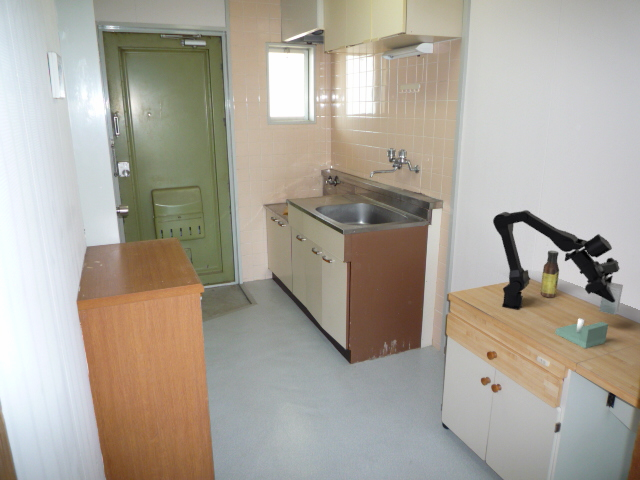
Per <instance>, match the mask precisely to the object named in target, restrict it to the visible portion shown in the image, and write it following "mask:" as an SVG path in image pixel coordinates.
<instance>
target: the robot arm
mask: <svg viewBox="0 0 640 480" xmlns="http://www.w3.org/2000/svg"><path fill="white" fill-rule="evenodd" d="M492 219H493V220H492V222H493V225H494V228H495V230H496V232H498V234H499V235H500V238H501V240H502V244H503V249H504V252H505V257H506V261H507V265H508V268H509V273H508V274H509V275H508V278H509V279H508V281H509V283H508V284H507V285H505V286H504V287H503V288H502V290H503V303H502V304H501V306H502V308H508V309H513V310H520V308H522V304H523V300H524V299H523V297H524V295H523V294H522V292H523V291H524V290H525V289H526V288H527V287H528V286H529V284H530V280H531V277H530V275H529V270H528V269H526V270H525V269H524V268H523V267H522V264H521V261H520V256H519V251H518V249H517V245H516V241H515V236H514V224H517V223H522V222H523V223H524V224H526V225H527V226H529V227H531V228H532V229H534V230H535V231H537V232H538V233H540V234H542V235H543V236H544V237H547V238H548V239H549V240H550V241H552V243H553V244H554V246H556V247H557V248H558V249H559V250H560V251H562V252H564V253H565V257H564V262H567V261H569V260H571V261H572V262H573V264H574V265H575V266H576V267H577V268H578V270H579V273H580V275H582V274H583V276H584V277H585V278H586V279H587V280H586V282H587V284H586V285H585V286H584V287H585V288H584V290H585V291H586V293H587V294H588V295H590V294H593V295H596V296H599V297H600V298H602V297H603V298H604V299H606V300H608V301H610V302H612V303H613V302H615V300H614V298H613V296H612V294H611V293H610V291H609V290H608V282H613V277H614V276H613V274H614V273H618V272H619V270H620V269H621V268H620V266H619V261H618V260H617V259H616V260H615V259H614V258H613V257H608V258H607V259H606V262H605V261H604V262H601V263H600V261H597V260H594V259H593V258H596V259H597V258H600V257H601V256H603V255H605V254H606V253H608V252H610V251H612V249H613V247H612V245H611V243H610V241H608V240H607V239H606V238H604V237H603V236H601V235H600V234H599V233H598V234H596V235H594V237H592V238H590V239H589V240H586V239H582V238H579V237H578V236H576V235H575V234H574V233H573V234H572V233H570V232H568V231H566V230H561V229H559V228H556V227H555V226H553V225H551V224H550V223H548V222H547V221H545V220H543V219H542V218H541V217H538V216H536V215H535V214H533V213H532V212H531V211H530V210H527V209H525V210H522V211H514V212H508V211H503V212H502V213H499V214H497V215H495V216H494V218H492ZM610 275H611V276H610ZM606 282H607V283H606Z"/></svg>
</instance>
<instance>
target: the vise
mask: <svg viewBox="0 0 640 480" xmlns="http://www.w3.org/2000/svg"><path fill="white" fill-rule="evenodd" d="M608 329H609V323H605V322H604V321H599V322H596V323H591V324H588V325H585V318H581V317H580V318H578V319H577V322H576V323H574V324H573V323H572V324H569V325H565V326H560V327H558V328H555V331H554V334H555V335H557V336H559V337H561V338H564V339H566V340H567V341H569V342H571V343H573V344H575V345H577V346H579V347H581V348H583V349H589V348H593V347H596V346H599V345H601V344H605V343H606V340H607V334H608Z"/></svg>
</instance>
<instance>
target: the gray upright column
mask: <svg viewBox="0 0 640 480" xmlns="http://www.w3.org/2000/svg"><path fill="white" fill-rule="evenodd" d="M606 283H607V282H606ZM623 286H624V284H622V283H621V284H620V283H615V282H613V281H611V282H608V290H609V291H610V293H611V294H612V296H613V298H614V300H615V302H613V303H612V302H610V301H608V300H606V299H604V298H603V297H600V299H601V300H600V304H599V310H598V311H599V312H602V313H606V314H610V315H614V316H616V315H617V313H618V311H619V307H620V303H621V297H622V292H623V288H624V287H623Z"/></svg>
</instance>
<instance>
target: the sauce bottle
mask: <svg viewBox="0 0 640 480" xmlns="http://www.w3.org/2000/svg"><path fill="white" fill-rule="evenodd" d="M558 256H559V251H556V250H548V252H547V259H546V260H547V261H546V262H545V264H544V265H543V269H542V270H543V271H542V275H541V283H540V284H541V285H540V295H541V296H542V297H545V298H550V299H551V298H554V297H556V293H557V291H558V285H559V284H558V282H559V275H560V269H559V264H558Z"/></svg>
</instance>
